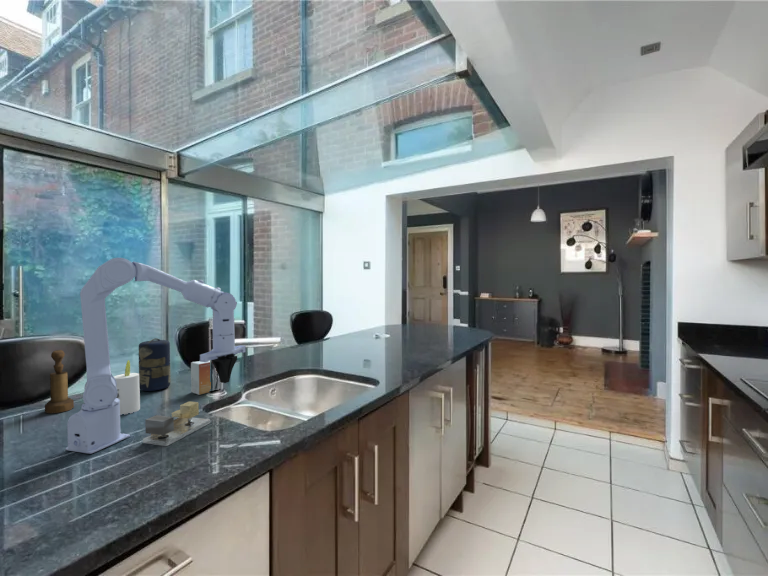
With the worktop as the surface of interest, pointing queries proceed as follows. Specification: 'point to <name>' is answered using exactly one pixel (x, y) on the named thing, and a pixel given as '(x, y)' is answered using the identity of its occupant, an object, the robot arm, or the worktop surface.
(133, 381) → the candle
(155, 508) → the worktop surface
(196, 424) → the bolt plate
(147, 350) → the canister
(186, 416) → the sliding leg
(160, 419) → the grey blocky hammer
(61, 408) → the brown tall knobbed cylinder
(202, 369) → the small box
